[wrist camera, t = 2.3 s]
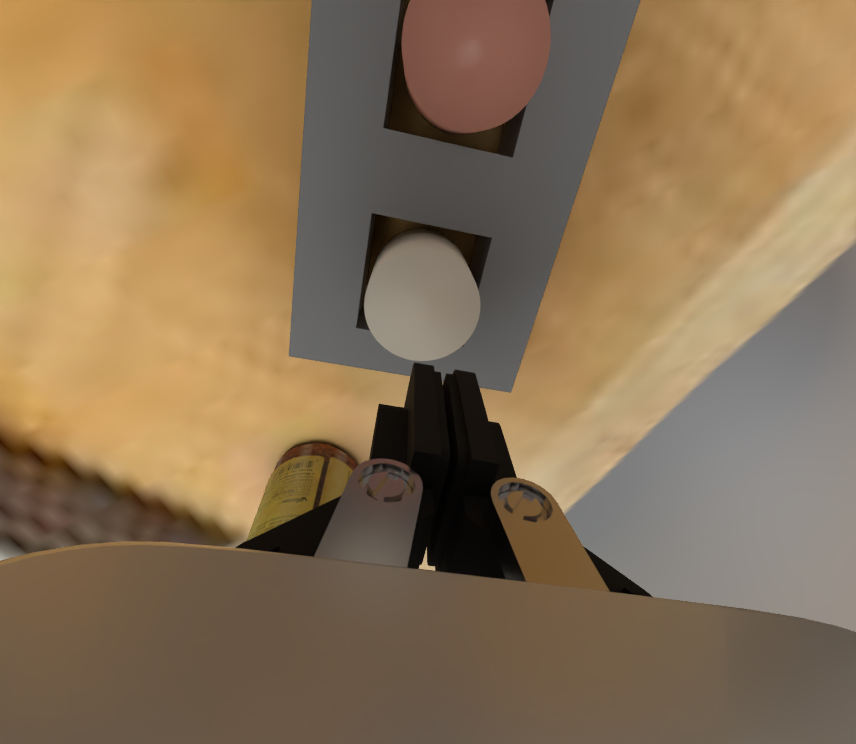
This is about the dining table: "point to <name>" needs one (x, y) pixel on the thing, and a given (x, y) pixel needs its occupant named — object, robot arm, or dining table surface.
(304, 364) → the dining table surface
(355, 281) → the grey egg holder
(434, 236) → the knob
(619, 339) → the dining table surface
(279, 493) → the sauce bottle
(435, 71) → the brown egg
